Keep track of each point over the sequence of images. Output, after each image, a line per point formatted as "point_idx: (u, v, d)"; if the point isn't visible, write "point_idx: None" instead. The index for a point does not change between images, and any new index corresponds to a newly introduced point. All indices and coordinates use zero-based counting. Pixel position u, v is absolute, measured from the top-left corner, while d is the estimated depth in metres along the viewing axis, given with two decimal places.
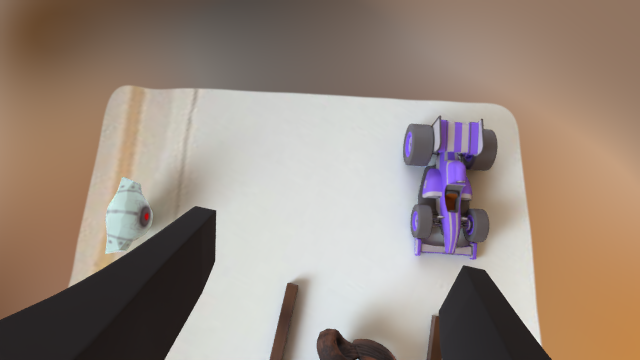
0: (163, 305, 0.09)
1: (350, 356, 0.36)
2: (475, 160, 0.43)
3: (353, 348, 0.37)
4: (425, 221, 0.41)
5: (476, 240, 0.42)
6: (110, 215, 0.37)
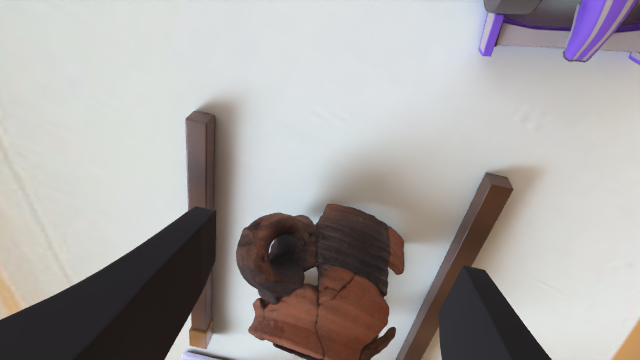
0: (163, 305, 0.09)
1: (302, 262, 0.20)
2: None
3: (313, 241, 0.21)
4: None
5: None
6: None
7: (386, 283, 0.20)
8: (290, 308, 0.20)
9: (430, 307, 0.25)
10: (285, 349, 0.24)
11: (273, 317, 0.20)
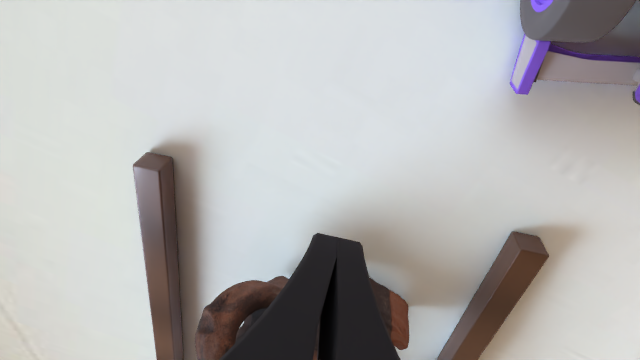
0: None
1: None
2: None
3: None
4: None
5: None
6: None
7: None
8: None
9: None
10: None
11: None
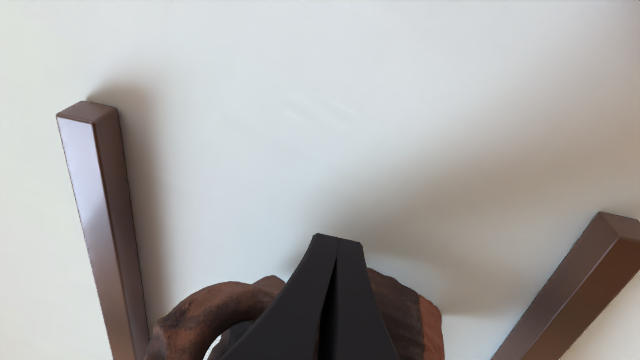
0: None
1: None
2: None
3: None
4: None
5: None
6: None
7: None
8: None
9: None
10: None
11: None
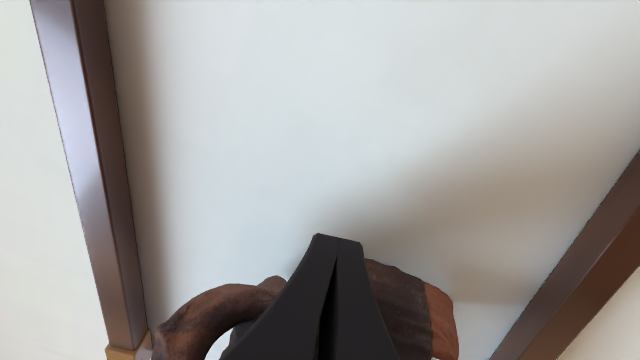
0: None
1: None
2: None
3: None
4: None
5: None
6: None
7: None
8: None
9: (559, 310, 0.12)
10: None
11: None
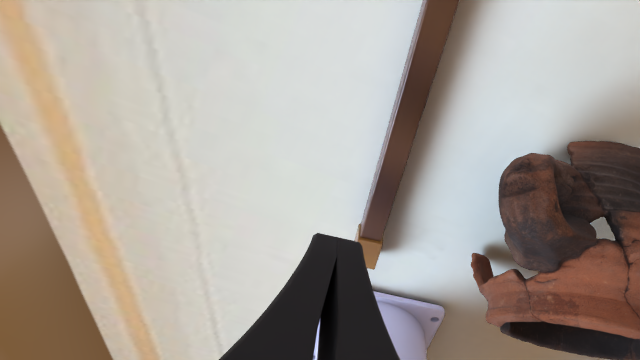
0: None
1: (582, 213, 0.15)
2: None
3: (584, 185, 0.16)
4: None
5: None
6: None
7: None
8: (581, 274, 0.14)
9: None
10: (520, 337, 0.19)
11: (549, 290, 0.15)
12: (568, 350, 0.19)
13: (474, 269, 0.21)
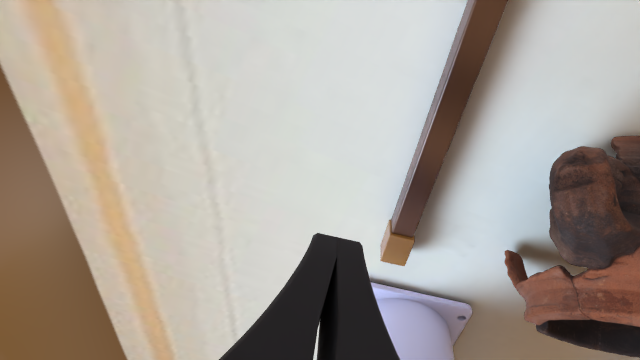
0: None
1: (634, 208, 0.15)
2: None
3: (634, 180, 0.15)
4: None
5: None
6: None
7: None
8: (634, 271, 0.14)
9: None
10: (557, 336, 0.19)
11: (599, 287, 0.15)
12: (607, 350, 0.19)
13: (508, 266, 0.20)
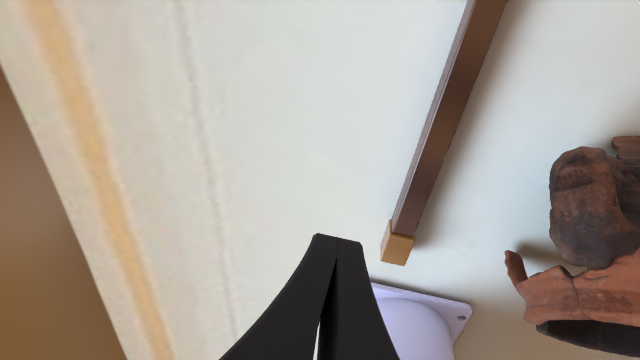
0: None
1: (634, 208, 0.15)
2: None
3: (634, 180, 0.15)
4: None
5: None
6: None
7: None
8: (634, 271, 0.14)
9: None
10: (557, 336, 0.19)
11: (598, 287, 0.15)
12: (606, 350, 0.19)
13: (508, 266, 0.20)
